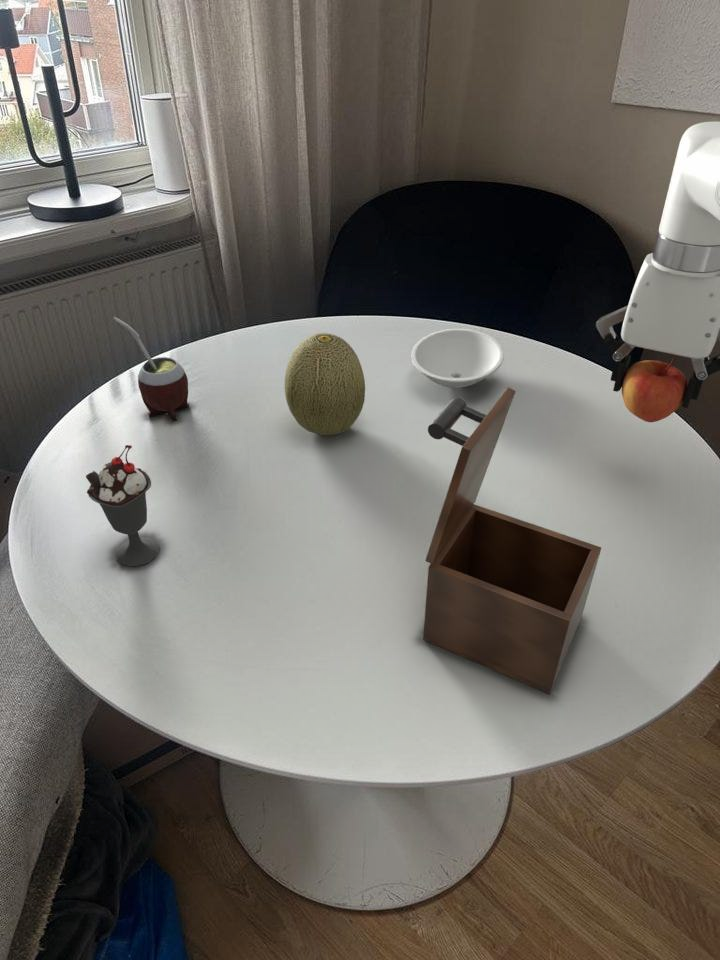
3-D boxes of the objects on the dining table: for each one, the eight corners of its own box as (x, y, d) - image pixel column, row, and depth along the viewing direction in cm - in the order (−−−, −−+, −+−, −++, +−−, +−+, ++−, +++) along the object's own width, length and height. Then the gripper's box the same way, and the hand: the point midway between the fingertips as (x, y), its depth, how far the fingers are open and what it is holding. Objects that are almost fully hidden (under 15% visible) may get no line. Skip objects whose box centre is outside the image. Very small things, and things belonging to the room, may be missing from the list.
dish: (488, 416, 106) (492, 388, 103) (397, 400, 110) (398, 372, 107) (509, 362, 119) (512, 335, 116) (426, 349, 123) (428, 322, 120)
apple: (604, 404, 91) (617, 348, 86) (657, 398, 92) (673, 342, 87) (633, 436, 85) (648, 377, 80) (688, 428, 86) (707, 370, 81)
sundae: (178, 545, 85) (155, 443, 75) (137, 579, 80) (107, 476, 71) (139, 525, 88) (112, 425, 78) (97, 558, 83) (63, 455, 74)
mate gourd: (198, 416, 107) (182, 325, 97) (146, 430, 104) (124, 338, 95) (184, 393, 112) (167, 305, 103) (134, 406, 109) (112, 316, 100)
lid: (516, 390, 64) (468, 369, 65) (470, 450, 56) (418, 426, 58) (475, 501, 73) (434, 481, 75) (432, 565, 66) (388, 541, 68)
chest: (580, 620, 75) (601, 547, 69) (549, 694, 68) (570, 621, 61) (462, 575, 81) (471, 503, 74) (422, 639, 73) (428, 566, 67)
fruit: (311, 460, 98) (305, 364, 89) (275, 422, 105) (266, 330, 96) (379, 435, 103) (381, 342, 93) (340, 400, 110) (338, 311, 101)
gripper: (783, 254, 75) (732, 398, 85) (617, 229, 82) (589, 365, 92) (777, 277, 70) (723, 427, 80) (600, 249, 77) (572, 391, 87)
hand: (652, 393), depth 86 cm, fingers closed on apple, 7 cm apart
